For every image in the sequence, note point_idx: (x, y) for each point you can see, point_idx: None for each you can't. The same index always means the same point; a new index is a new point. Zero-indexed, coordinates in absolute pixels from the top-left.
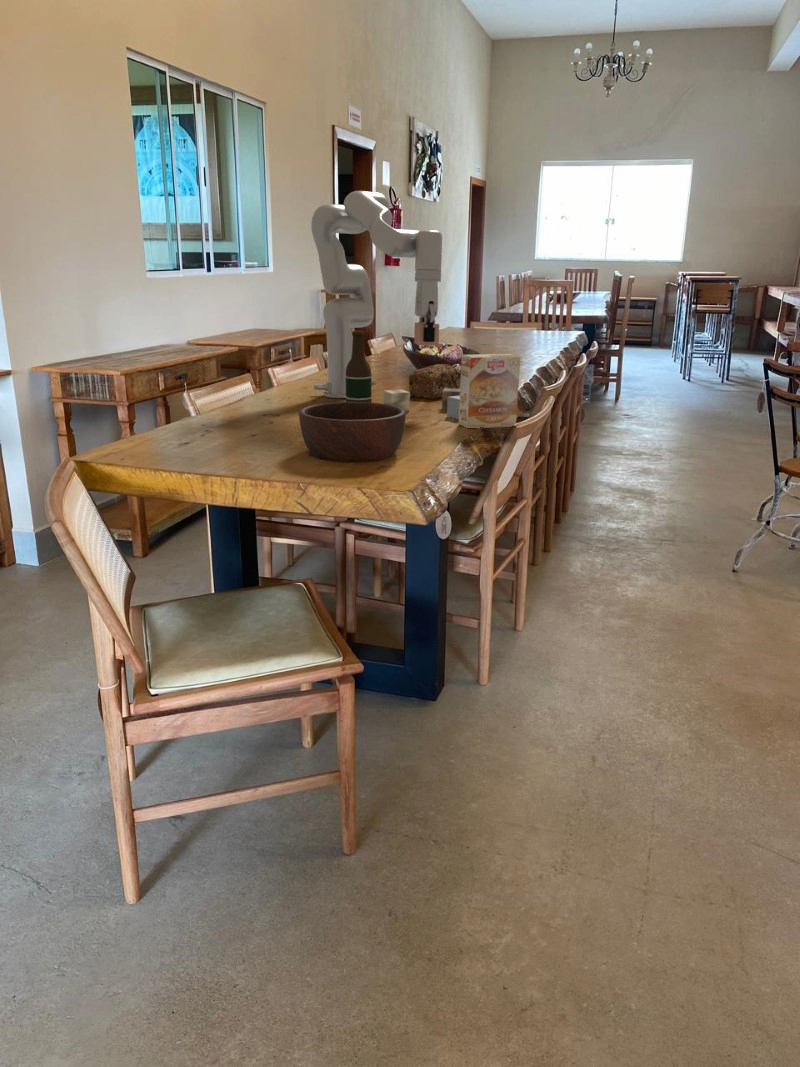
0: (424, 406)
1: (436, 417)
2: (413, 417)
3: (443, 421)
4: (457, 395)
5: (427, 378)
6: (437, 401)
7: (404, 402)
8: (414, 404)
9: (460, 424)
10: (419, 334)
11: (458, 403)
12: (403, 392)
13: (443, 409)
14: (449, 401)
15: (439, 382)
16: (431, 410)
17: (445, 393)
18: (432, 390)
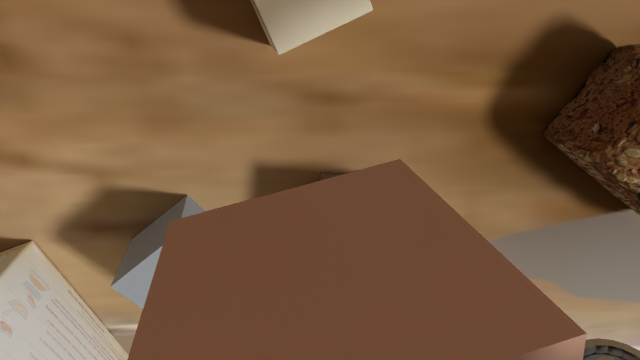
0: (398, 106)
1: (164, 158)
2: (139, 66)
3: (82, 186)
4: None
5: (620, 135)
6: (497, 151)
7: (262, 24)
8: (442, 65)
9: (11, 248)
10: (146, 316)
11: (126, 266)
12: (274, 19)
13: (319, 179)
14: None
15: (606, 176)
16: (313, 135)
17: None
18: (564, 142)
